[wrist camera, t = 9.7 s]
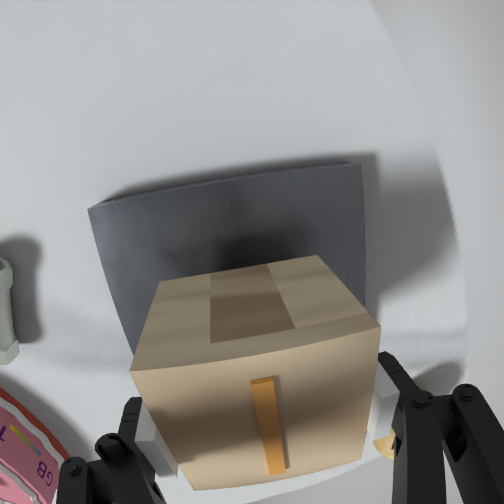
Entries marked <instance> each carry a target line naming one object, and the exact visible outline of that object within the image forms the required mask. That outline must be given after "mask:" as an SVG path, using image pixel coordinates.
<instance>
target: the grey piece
mask: <svg viewBox="0 0 504 504" xmlns="http://www.w3.org/2000/svg"><path fill="white" fill-rule="evenodd" d="M88 214H89V218H90V222H91V226H92V230H93V234H94V238H95V242H96V245H97V249H98V253H99V256H100V260H101V263H102V267H103V270H104V273H105V276H106V280H107V283H108V286H109V289H110V292H111V295H112V298H113V301H114V304H115V307H116V310H117V313H118V316H119V319H120V321H121V324H122V327H123V330H124V332H125V335H126V338H127V340H128V343H129V345H130V348H131V350H132V353H133V355H135V352H136V349H137V346H138V343H139V340H140V337H141V334H142V331H143V328H144V325H145V322H146V319H147V316H148V313H149V310H150V307H151V304H152V301H153V299H154V296H155V293H156V290H157V288H158V285H159V282H160V281H166V280H172V279H178V278H184V277H190V276H197V275H203V274H209V273H215V272H221V271H226V270H232V269H238V268H244V267H250V266H256V265H262V264H267V263H273V262H279V261H285V260H290V259H296V258H302V257H307V256H313V255H318V256H319V257H320V259H321V260H322V261H323V262H324V263H325V264H326V265H327V266H328V267H329V268H330V270H331V271H332V272H333V273H334V274H335V275H336V276H337V277H338V278H339V280H340V281H341V282H342V283H343V284H344V285H345V286H346V287H347V288H348V290H349V291H350V292H351V293H352V294H353V295H354V296H355V297H356V299H357V300H358V301H359V302H360V303H361V304H362V305H363V307H364V304H365V229H364V205H363V187H362V173H361V164H355V163H348V162H346V163H335V164H325V165H316V166H307V167H298V168H290V169H282V170H274V171H267V172H260V173H253V174H246V175H239V176H233V177H227V178H220V179H214V180H208V181H203V182H197V183H191V184H186V185H181V186H175V187H170V188H165V189H160V190H155V191H150V192H145V193H141V194H136V195H131V196H127V197H122V198H118V199H113V200H109V201H105V202H101V203H98V204H96V205H94V206H92V207H91V208H89V209H88Z"/></svg>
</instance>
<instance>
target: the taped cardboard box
mask: <svg viewBox="0 0 504 504" xmlns="http://www.w3.org/2000/svg"><path fill="white" fill-rule="evenodd" d="M380 331H381V326H380V325H379V324H378V323H377V322H376V320H375V319H374V318H373V317H372V316H371V315H370V313H369V312H368V311H367V310H366V309H365V308H364V307H363V305H362V304H361V303H360V302H359V301H358V300H357V299H356V297H355V296H354V295H353V294H352V293H351V292H350V291H349V290H348V288H347V287H346V286H345V285H344V284H343V283H342V282H341V281H340V280H339V278H338V277H337V276H336V275H335V274H334V273H333V272H332V271H331V270H330V268H329V267H328V266H327V265H326V264H325V263H324V262H323V261H322V260H321V259H320V257H319V256H318V255H313V256H307V257H302V258H296V259H290V260H285V261H279V262H273V263H267V264H262V265H256V266H250V267H244V268H238V269H232V270H226V271H221V272H215V273H209V274H203V275H197V276H190V277H184V278H178V279H172V280H166V281H160V282H159V285H158V288H157V290H156V293H155V296H154V299H153V301H152V304H151V307H150V310H149V313H148V316H147V319H146V322H145V325H144V328H143V331H142V334H141V337H140V340H139V343H138V346H137V349H136V352H135V355H134V358H133V361H132V365H131V368H130V371H129V372H130V374H131V376H132V379H133V381H134V383H135V385H136V387H137V389H138V391H139V394H140V396H141V398H142V400H143V402H144V404H145V406H146V408H147V410H148V412H149V414H150V416H151V418H152V420H153V421H154V423H155V425H156V427H157V428H158V430H159V432H160V434H161V436H162V438H163V439H164V441H165V443H166V445H167V447H168V448H169V450H170V452H171V453H172V455H173V457H174V459H175V460H176V462H177V464H178V466H179V467H180V469H181V471H182V472H183V474H184V475H185V477H186V479H187V480H188V482H189V483H190V485H191V486H192V488H193V489H194V491H197V490H211V489H222V488H232V487H240V486H247V485H254V484H261V483H267V482H273V481H278V480H283V479H288V478H293V477H298V476H302V475H306V474H311V473H315V472H319V471H323V470H326V469H330V468H334V467H337V466H341V465H344V464H347V463H351V462H354V461H357V460H360V459H361V457H362V452H363V448H364V443H365V438H366V433H367V426H368V420H369V414H370V409H371V402H372V396H373V389H374V384H375V377H376V369H377V361H378V352H379V342H380Z"/></svg>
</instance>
